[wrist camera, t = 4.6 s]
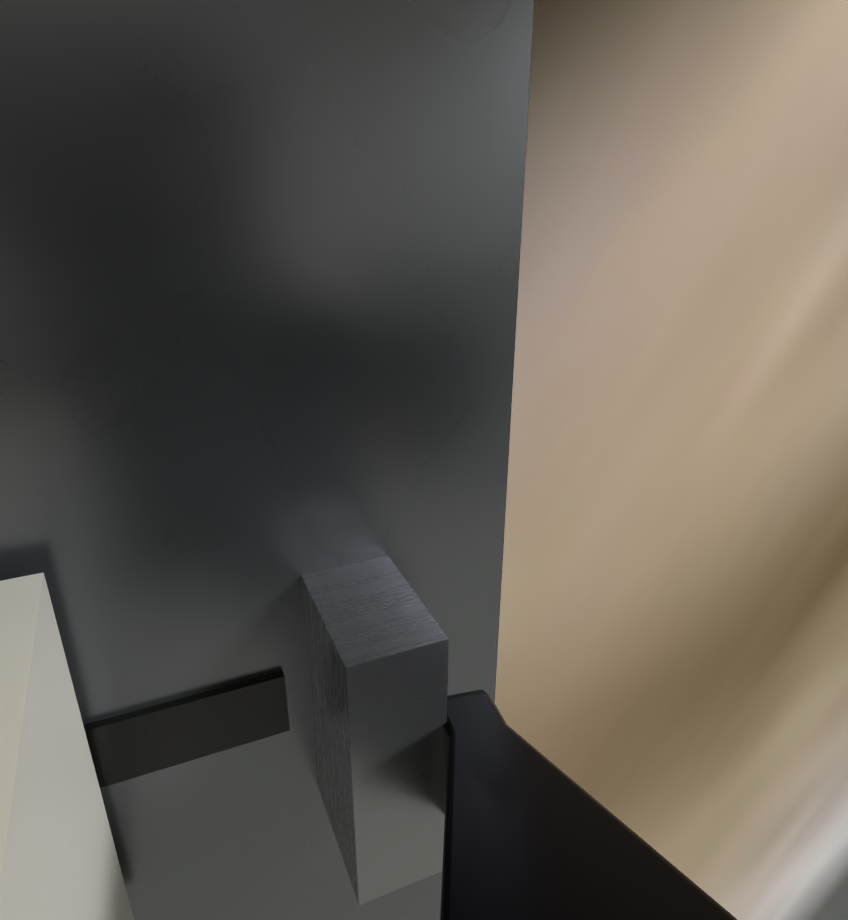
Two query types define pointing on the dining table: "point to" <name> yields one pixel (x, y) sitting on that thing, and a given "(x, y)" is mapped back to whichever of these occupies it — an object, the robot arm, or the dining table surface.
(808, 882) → the dining table surface
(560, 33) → the dining table surface
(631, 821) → the dining table surface
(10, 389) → the console
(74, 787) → the fader
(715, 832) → the dining table surface
